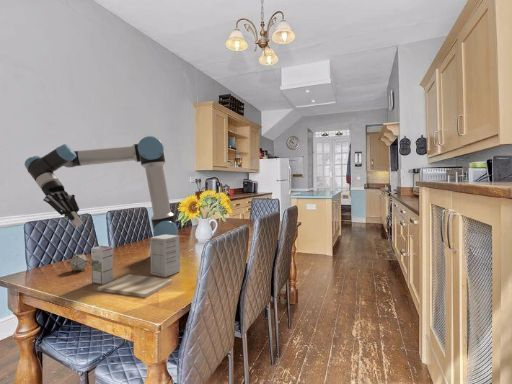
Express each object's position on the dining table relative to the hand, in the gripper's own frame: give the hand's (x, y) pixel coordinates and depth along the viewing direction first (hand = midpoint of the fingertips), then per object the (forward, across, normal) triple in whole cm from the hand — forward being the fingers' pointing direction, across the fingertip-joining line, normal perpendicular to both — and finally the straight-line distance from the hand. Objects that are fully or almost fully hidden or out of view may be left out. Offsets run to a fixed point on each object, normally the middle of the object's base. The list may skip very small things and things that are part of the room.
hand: (79, 224), depth 117 cm
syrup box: (+25, 0, -8) cm, 26 cm away
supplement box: (+37, -18, +5) cm, 42 cm away
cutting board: (+37, 0, +4) cm, 37 cm away
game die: (+9, -9, -24) cm, 27 cm away
